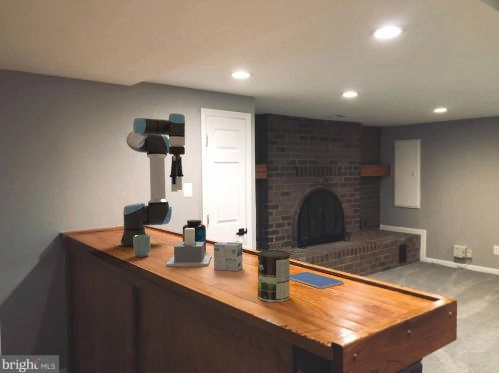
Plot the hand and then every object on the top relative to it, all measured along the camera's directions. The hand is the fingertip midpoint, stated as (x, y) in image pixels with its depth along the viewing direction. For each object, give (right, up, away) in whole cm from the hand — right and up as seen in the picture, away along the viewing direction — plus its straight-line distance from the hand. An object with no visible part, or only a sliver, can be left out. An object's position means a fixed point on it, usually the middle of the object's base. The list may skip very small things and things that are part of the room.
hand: (176, 190), depth 185 cm
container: (+6, -32, +14) cm, 35 cm away
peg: (+8, -31, -10) cm, 34 cm away
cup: (-17, -32, +3) cm, 37 cm away
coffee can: (+43, -33, -63) cm, 83 cm away
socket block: (+8, -32, -10) cm, 35 cm away
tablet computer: (+58, -33, -42) cm, 79 cm away
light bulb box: (+26, -33, -24) cm, 48 cm away
